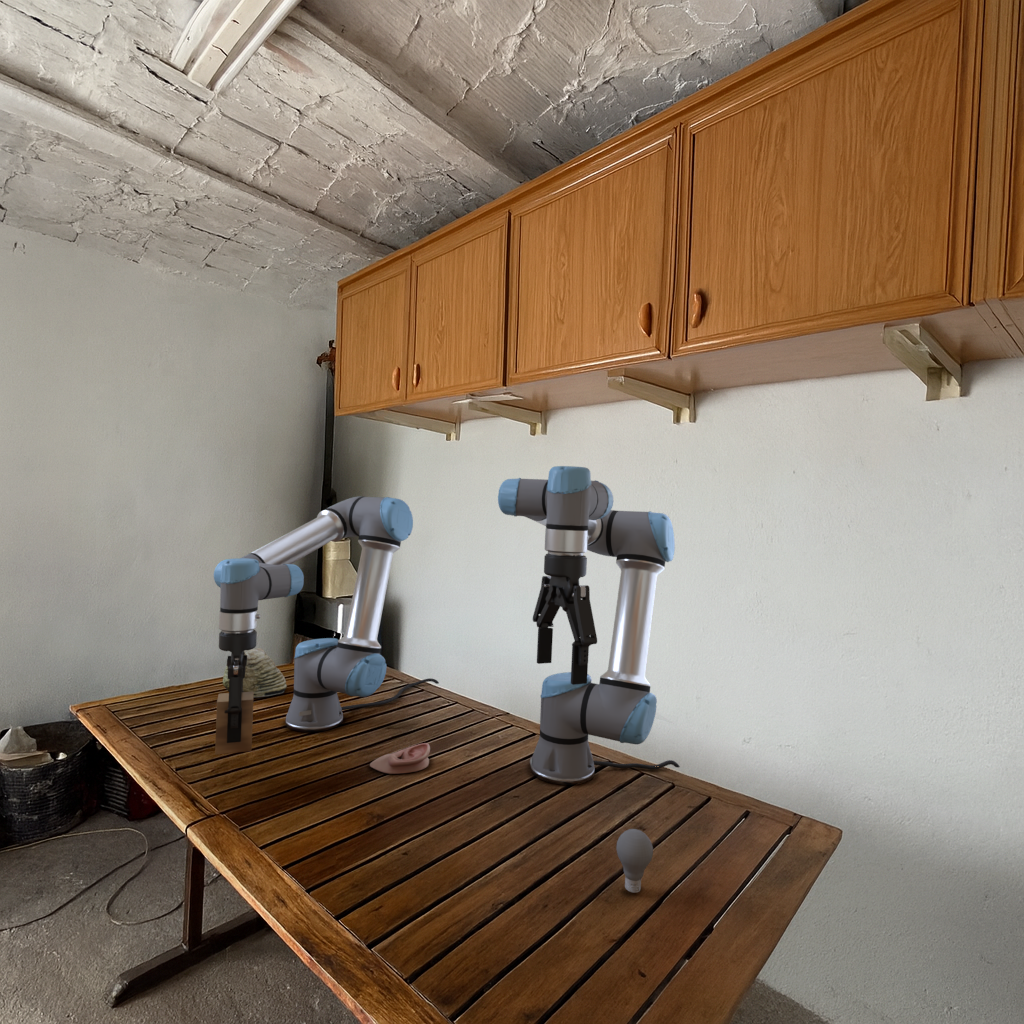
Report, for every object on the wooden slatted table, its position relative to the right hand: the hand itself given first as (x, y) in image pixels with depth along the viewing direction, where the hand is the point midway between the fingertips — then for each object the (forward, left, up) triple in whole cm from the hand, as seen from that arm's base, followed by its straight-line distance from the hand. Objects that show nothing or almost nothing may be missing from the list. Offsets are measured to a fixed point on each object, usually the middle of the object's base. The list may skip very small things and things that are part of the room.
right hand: (560, 672), depth 113 cm
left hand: (+56, -46, -24) cm, 76 cm away
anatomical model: (+19, -47, -34) cm, 61 cm away
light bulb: (-10, +11, -34) cm, 37 cm away
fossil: (+55, -109, -34) cm, 127 cm away
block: (+56, -46, -26) cm, 77 cm away
